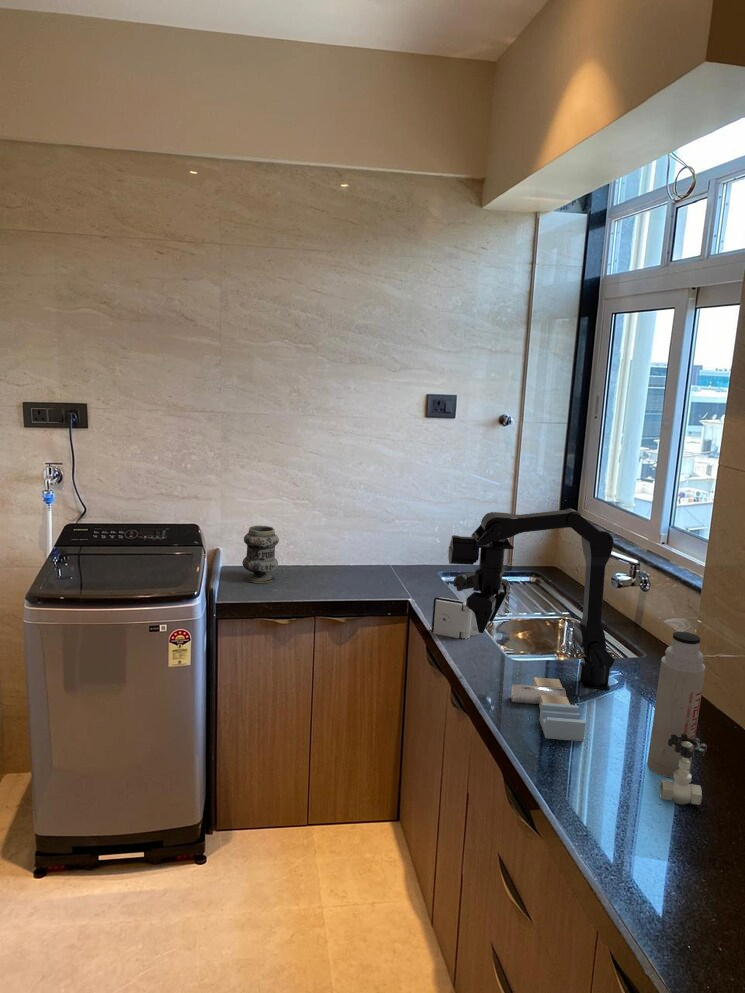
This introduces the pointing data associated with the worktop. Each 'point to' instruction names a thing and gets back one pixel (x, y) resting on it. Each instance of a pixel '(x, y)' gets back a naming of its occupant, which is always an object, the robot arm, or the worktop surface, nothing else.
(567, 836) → the worktop surface
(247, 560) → the apothecary jar
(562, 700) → the beam
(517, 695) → the light grey bar
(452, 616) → the hinge
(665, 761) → the thermos bottle
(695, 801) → the valve
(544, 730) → the v block
